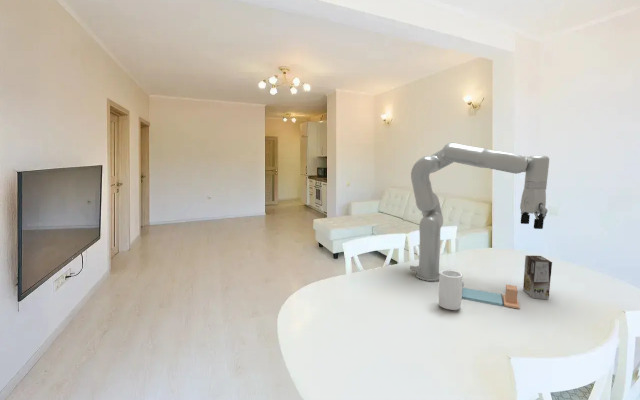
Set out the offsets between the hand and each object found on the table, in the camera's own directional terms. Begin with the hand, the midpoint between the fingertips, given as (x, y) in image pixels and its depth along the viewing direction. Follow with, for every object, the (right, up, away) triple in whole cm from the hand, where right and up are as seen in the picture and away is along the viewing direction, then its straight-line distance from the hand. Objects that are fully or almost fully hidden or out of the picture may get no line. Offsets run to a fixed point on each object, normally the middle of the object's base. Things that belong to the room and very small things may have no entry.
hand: (531, 226), depth 127 cm
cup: (-38, -32, -9) cm, 51 cm away
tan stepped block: (-12, -31, -5) cm, 33 cm away
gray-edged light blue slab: (-22, -30, +1) cm, 37 cm away
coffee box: (+4, -30, +3) cm, 30 cm away
